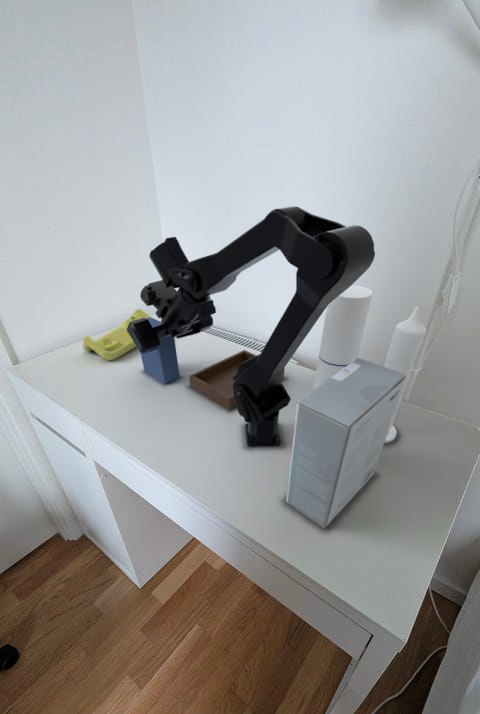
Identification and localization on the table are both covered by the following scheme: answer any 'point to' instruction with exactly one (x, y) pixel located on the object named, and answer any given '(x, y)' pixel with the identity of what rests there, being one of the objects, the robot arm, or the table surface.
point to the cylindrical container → (342, 332)
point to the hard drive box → (340, 437)
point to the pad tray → (220, 379)
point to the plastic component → (114, 340)
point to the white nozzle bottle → (404, 355)
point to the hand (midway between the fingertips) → (160, 342)
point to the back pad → (162, 358)
